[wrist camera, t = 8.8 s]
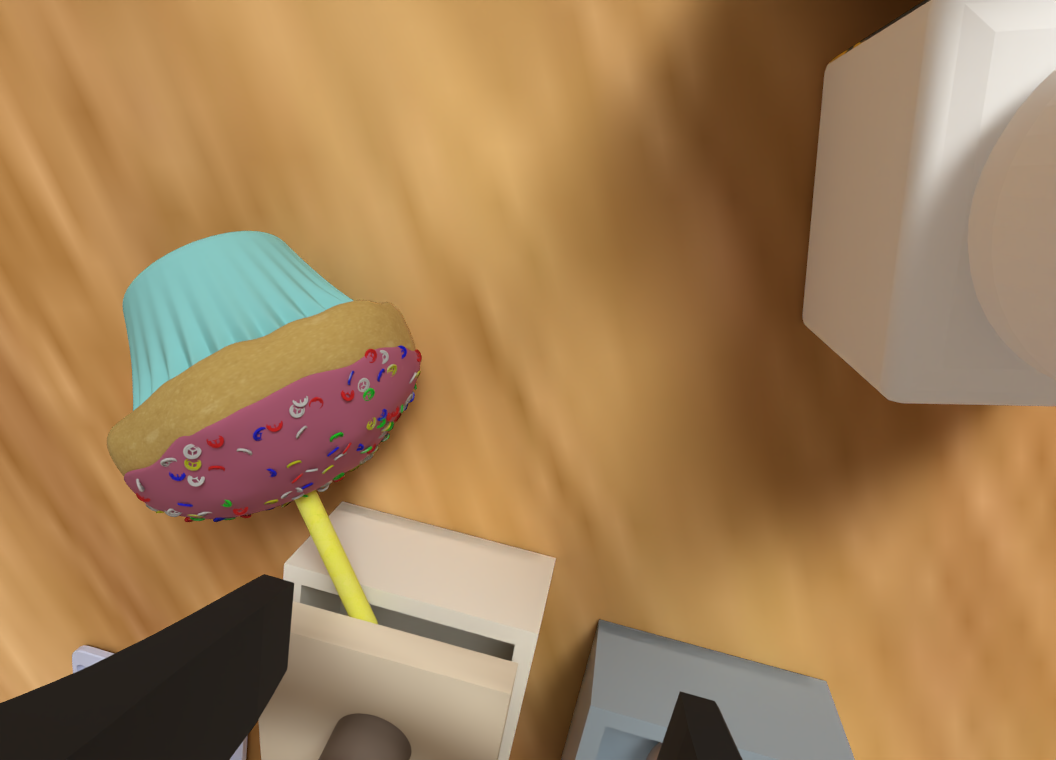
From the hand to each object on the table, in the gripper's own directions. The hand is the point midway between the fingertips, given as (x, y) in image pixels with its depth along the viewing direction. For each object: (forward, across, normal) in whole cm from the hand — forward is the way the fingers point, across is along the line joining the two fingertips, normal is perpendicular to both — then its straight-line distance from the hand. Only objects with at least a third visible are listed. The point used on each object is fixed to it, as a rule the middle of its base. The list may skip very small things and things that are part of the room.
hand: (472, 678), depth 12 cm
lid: (+6, +3, +8) cm, 10 cm away
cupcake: (+8, +11, -4) cm, 14 cm away
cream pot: (+10, +3, +8) cm, 13 cm away
